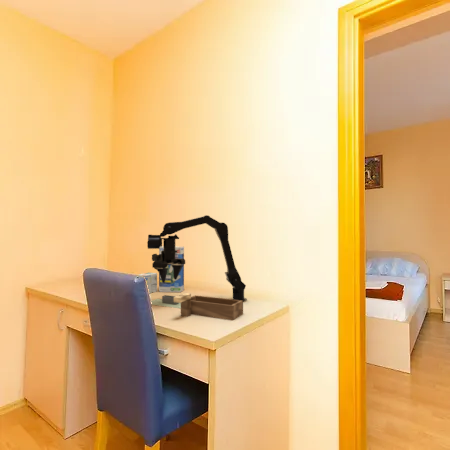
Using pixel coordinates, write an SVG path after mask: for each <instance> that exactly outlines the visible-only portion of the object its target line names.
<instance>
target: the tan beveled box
mask: <svg viewBox="0 0 450 450" xmlns="http://www.w3.org/2000/svg"><path fill="white" fill-rule="evenodd" d="M174 296H175V295H174ZM191 297H192V294H191V293H187V292H186V293H181V294H178V295H176V296H175V297H174V302H177V303H181V302H183V301H186V300H189V299H191Z"/></svg>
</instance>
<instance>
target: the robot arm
mask: <svg viewBox="0 0 450 450" xmlns="http://www.w3.org/2000/svg"><path fill="white" fill-rule="evenodd" d="M204 224H206V225H207V226H209V227H211V228H212V229H214V231H215V234H216V235H217V238H218V240H219V242H220V245H221V250H222V253H223V256H224V257H223V258H224V261H225V264H226V271H225V272H224V274H225V276H226V281H227V282H228V283H229V284H230V286H231V287H232V299H233V300H242V301H243V302H244V301H246V300H247V298H245V289H246V286H247V285H246V284H245V283H244V282H243V281H242V278H241V275H240V273H239V271H238V269H237V268H236V264H235V261H234V257H233V254H232V249H231V245H230V241H229V227H228V224H227V223H225V222H220V221H218V220H217V219H214V218H213V217H211V216H210V215H206V214H205V215H204V216H200V217H196V218H191V219H188V220H183V221H172V222H167V223H165V224H164V225H163V227H162V228H163V230H162V231H161V233H160V234H148V236H147V242H146V243H147V249H148V250H151V249H152V250H153V249H156V250H157V249H158V250H159V249H160V247H161V246H163V247H164V251H161V254H160V255H159V254H157V253H153V254H151V261H152V269H153V268H154V270H156V271H157V272H158V275H159V274H160V277H161V280H162V282H165V279H166V275H167V270H168V268H166V267H167V266H168V265H171V266H172V267H173V271H174V279H175V280H176V279H177V277H178V275H179V273H180V271H181V269H182V267H183V266H184V267H185V265H186V259H185V258H184V259H183V258H175V253H177V250H175V246H176V240H179V239H180V237H179V236H178V235H177V234H175V233H179V232H180V231H182V230H184V229H188V228H192V227H196V226H200V225H204ZM173 234H174V235H173ZM167 235H168V236H167ZM166 236H167V237H166ZM172 264H173V265H172ZM183 264H184V265H183Z"/></svg>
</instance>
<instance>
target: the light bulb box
mask: <svg viewBox="0 0 450 450" xmlns="http://www.w3.org/2000/svg"><path fill="white" fill-rule="evenodd" d="M138 275H139V276H143V277H145V279H146V281H147V285H148V289H149V292H150V293H149V294H152V292H153V293H156V291H157V292H158V273H157V272H151V271H150V272H144V273H140V274H138Z"/></svg>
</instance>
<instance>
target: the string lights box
mask: <svg viewBox="0 0 450 450" xmlns="http://www.w3.org/2000/svg"><path fill="white" fill-rule="evenodd" d="M175 250H177V253H175V258H183V259H185V246H177V245H175ZM161 251H164V247H163V245H162V246H161V247H160V249H158V255H160V254H161ZM172 265H173V264H172ZM183 265H184V266H183V267H182V269H181V271H180V273H179V275H178V277H177V279H176V280H175V279H174V271H173V267H172V266H171V265H168V266H167V267H166V268H168V270H167V275H166V279H165V282H162V280H161V277H160V274H159V273H158V292H160V293H182V292H183V291H185V264H183Z"/></svg>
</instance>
